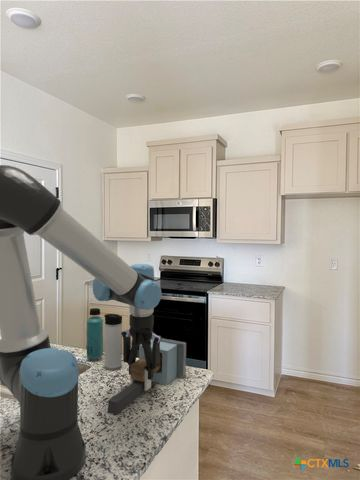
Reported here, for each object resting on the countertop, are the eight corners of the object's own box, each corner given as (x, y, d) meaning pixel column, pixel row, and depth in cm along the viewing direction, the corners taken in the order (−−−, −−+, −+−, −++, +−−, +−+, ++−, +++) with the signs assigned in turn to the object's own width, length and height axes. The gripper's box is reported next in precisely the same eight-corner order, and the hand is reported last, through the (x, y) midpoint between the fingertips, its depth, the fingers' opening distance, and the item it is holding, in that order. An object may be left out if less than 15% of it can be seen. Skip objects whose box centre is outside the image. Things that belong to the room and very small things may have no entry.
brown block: (142, 382, 102) (142, 367, 102) (130, 378, 104) (130, 364, 104) (164, 365, 114) (164, 352, 114) (153, 363, 116) (153, 350, 116)
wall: (183, 378, 115) (183, 344, 114) (143, 369, 122) (144, 337, 122) (185, 376, 117) (186, 342, 116) (146, 367, 124) (147, 335, 123)
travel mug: (100, 367, 123) (100, 313, 123) (115, 362, 128) (116, 310, 127) (109, 372, 119) (109, 317, 118) (124, 367, 123) (125, 314, 122)
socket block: (167, 385, 110) (167, 351, 109) (138, 378, 114) (139, 345, 114) (176, 376, 116) (177, 344, 116) (149, 370, 121) (149, 339, 120)
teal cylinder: (105, 356, 134) (105, 307, 133) (99, 363, 127) (100, 311, 126) (89, 355, 134) (90, 306, 134) (83, 362, 128) (83, 310, 127)
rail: (116, 415, 92) (116, 402, 92) (108, 412, 93) (108, 400, 93) (148, 389, 107) (148, 378, 107) (141, 387, 108) (141, 376, 108)
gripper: (171, 314, 104) (170, 388, 105) (125, 308, 112) (124, 376, 112) (160, 320, 97) (159, 398, 98) (111, 312, 105) (110, 385, 106)
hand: (140, 386), depth 105 cm, fingers closed on brown block, 4 cm apart
